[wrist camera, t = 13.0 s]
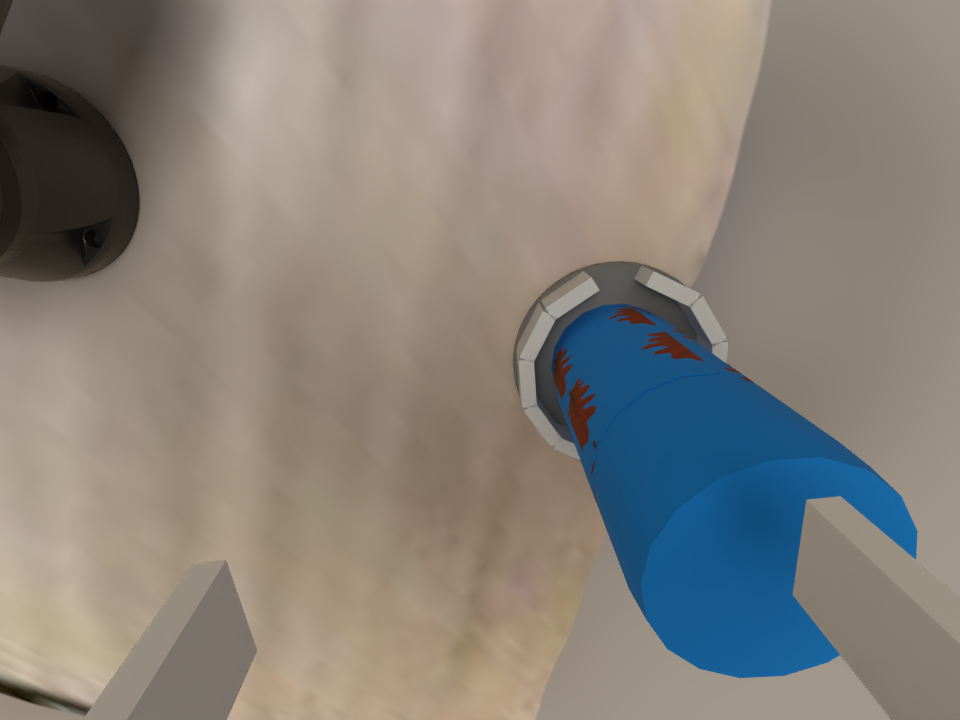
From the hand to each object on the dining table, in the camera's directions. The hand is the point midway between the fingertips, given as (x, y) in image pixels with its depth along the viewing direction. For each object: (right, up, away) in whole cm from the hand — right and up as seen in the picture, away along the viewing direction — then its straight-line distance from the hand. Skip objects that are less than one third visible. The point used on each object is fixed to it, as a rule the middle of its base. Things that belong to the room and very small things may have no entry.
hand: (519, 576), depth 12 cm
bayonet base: (+11, +5, +32) cm, 34 cm away
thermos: (+10, +5, +31) cm, 34 cm away
